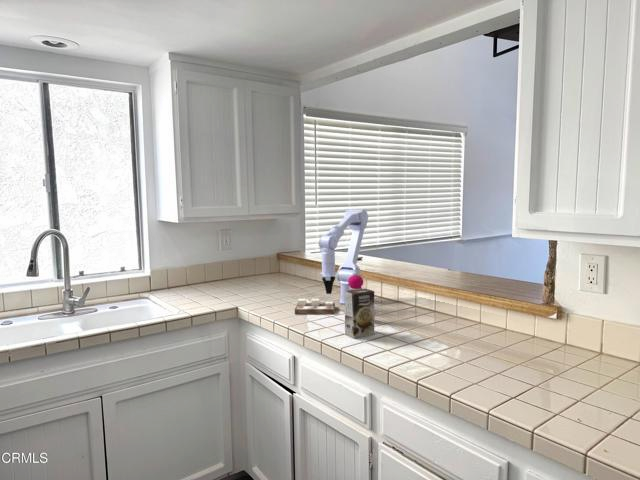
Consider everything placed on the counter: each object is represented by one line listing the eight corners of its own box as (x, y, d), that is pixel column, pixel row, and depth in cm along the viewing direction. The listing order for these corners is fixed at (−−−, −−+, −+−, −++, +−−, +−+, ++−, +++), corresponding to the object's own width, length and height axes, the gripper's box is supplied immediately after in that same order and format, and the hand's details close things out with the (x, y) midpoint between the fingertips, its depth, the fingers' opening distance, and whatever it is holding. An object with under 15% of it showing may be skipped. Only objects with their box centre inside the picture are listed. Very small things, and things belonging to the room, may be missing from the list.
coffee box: (353, 338, 157) (353, 294, 155) (344, 333, 163) (343, 290, 161) (375, 334, 161) (375, 290, 159) (365, 329, 167) (365, 287, 165)
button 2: (333, 308, 198) (332, 301, 198) (332, 310, 195) (332, 303, 194) (325, 308, 198) (325, 301, 198) (325, 310, 195) (325, 303, 195)
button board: (334, 306, 201) (334, 301, 201) (334, 314, 189) (334, 308, 189) (297, 307, 202) (297, 301, 202) (294, 314, 190) (294, 308, 190)
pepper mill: (367, 319, 181) (367, 270, 178) (361, 324, 174) (361, 273, 172) (350, 317, 184) (350, 269, 181) (344, 322, 177) (343, 272, 175)
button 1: (306, 305, 199) (305, 298, 198) (305, 307, 195) (305, 300, 195) (298, 305, 199) (298, 298, 198) (298, 307, 196) (297, 300, 195)
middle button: (319, 305, 198) (319, 298, 198) (319, 307, 195) (318, 300, 195) (312, 305, 198) (312, 298, 198) (311, 307, 195) (311, 300, 195)
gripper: (320, 260, 202) (320, 289, 203) (318, 265, 187) (318, 297, 189) (335, 260, 201) (336, 289, 203) (334, 265, 187) (335, 297, 188)
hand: (329, 293), depth 196 cm, fingers closed
